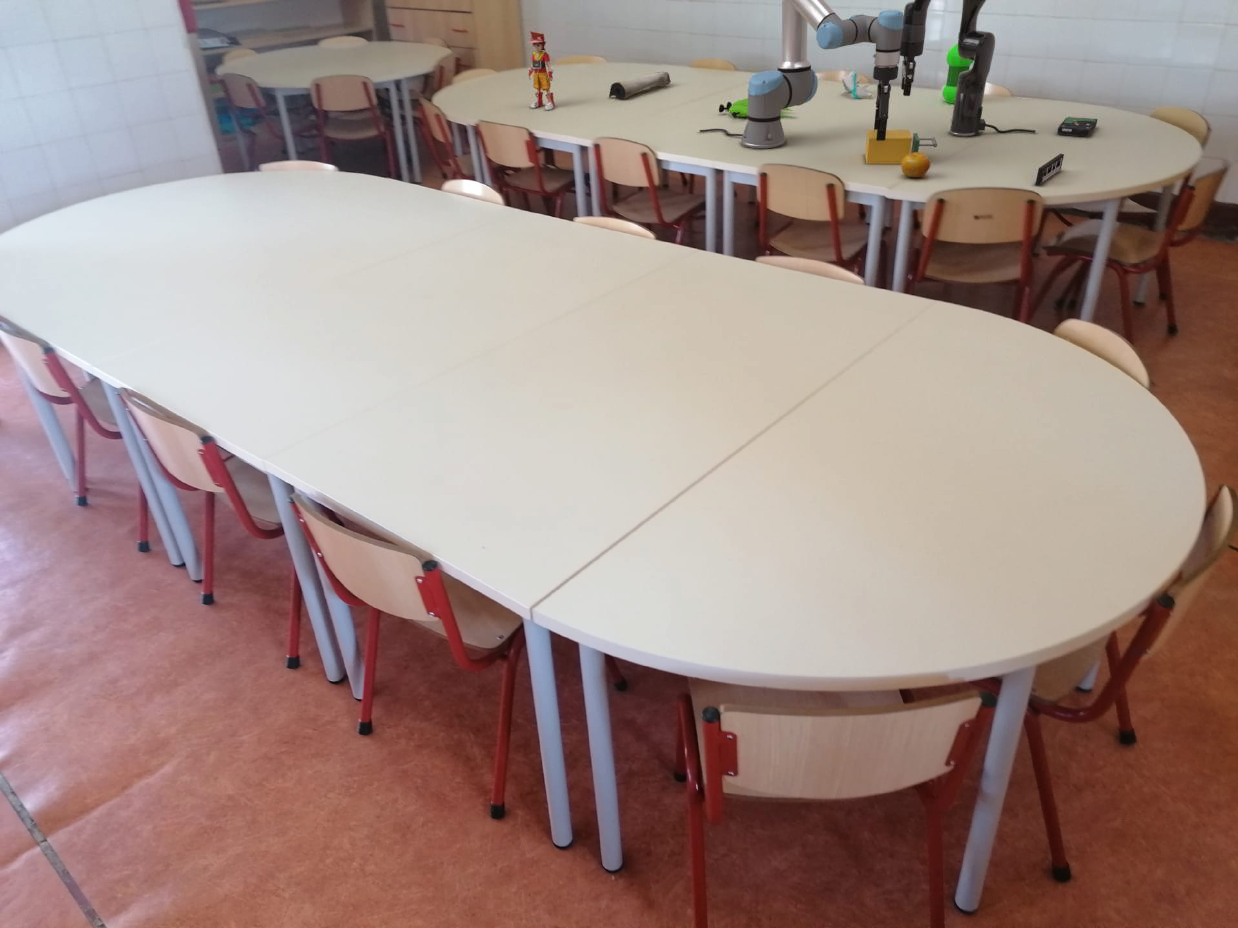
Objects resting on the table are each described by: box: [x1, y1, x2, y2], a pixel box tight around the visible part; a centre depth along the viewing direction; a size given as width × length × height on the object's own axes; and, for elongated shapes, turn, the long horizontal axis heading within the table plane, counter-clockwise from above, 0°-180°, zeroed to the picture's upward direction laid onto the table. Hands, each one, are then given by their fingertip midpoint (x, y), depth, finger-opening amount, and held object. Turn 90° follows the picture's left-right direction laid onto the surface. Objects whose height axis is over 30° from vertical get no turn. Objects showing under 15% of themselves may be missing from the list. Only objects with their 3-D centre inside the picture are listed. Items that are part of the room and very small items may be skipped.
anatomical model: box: [841, 70, 873, 100], centre depth 370 cm, size 15×10×10 cm
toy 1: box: [527, 31, 556, 111], centre depth 374 cm, size 12×9×30 cm
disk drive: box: [1057, 116, 1098, 137], centre depth 313 cm, size 10×3×15 cm
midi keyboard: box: [1035, 153, 1065, 186], centre depth 273 cm, size 18×1×5 cm, turn 138°
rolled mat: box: [608, 71, 672, 101], centre depth 395 cm, size 30×9×10 cm
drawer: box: [910, 132, 938, 153], centre depth 295 cm, size 18×9×6 cm, turn 80°
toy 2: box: [718, 97, 794, 118], centre depth 353 cm, size 28×5×30 cm
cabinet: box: [864, 129, 913, 165], centre depth 296 cm, size 13×10×8 cm
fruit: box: [900, 151, 931, 178], centre depth 281 cm, size 8×8×8 cm
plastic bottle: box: [942, 34, 974, 104], centre depth 348 cm, size 10×10×25 cm
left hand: (879, 135), depth 294 cm, fingers open, 13 cm apart
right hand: (905, 92), depth 294 cm, fingers open, 8 cm apart
